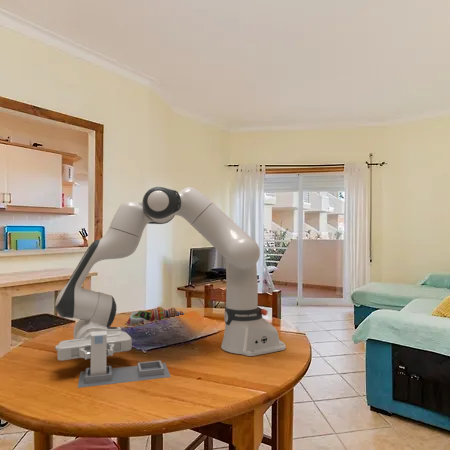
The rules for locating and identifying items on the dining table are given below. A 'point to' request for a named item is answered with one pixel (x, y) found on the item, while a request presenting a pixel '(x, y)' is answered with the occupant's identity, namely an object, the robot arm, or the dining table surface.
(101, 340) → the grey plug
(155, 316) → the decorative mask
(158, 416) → the dining table surface
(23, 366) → the dining table surface
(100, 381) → the grey flat plate
